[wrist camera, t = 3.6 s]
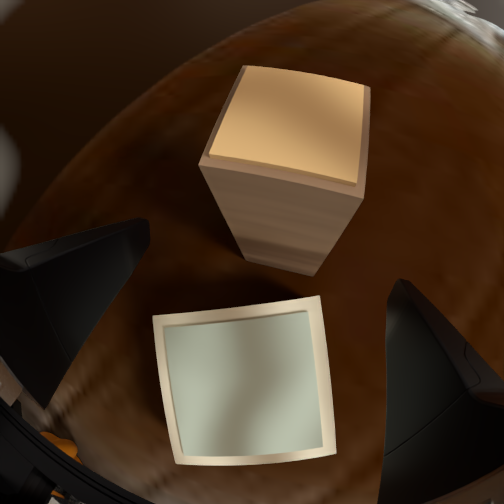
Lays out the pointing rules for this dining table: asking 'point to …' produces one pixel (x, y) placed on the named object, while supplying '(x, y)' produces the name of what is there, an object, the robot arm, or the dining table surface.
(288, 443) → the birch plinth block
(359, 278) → the dining table surface
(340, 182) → the tan wooden block
